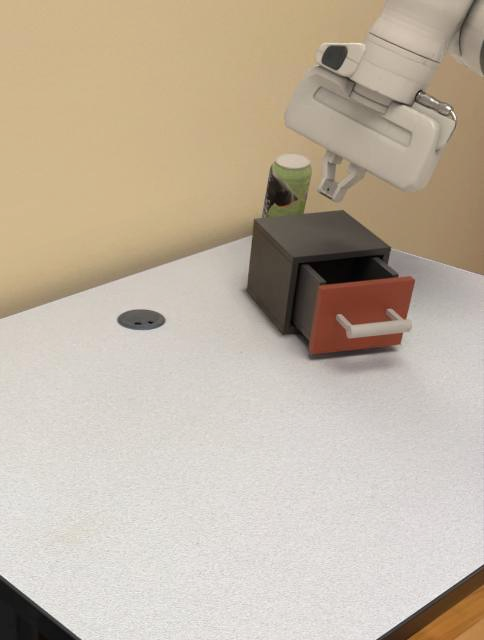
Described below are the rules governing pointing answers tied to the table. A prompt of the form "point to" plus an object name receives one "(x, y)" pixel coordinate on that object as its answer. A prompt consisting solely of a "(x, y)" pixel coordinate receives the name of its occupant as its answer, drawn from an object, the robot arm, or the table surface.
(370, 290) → the drawer
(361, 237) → the cabinet
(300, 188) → the beverage can
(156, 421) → the table surface
